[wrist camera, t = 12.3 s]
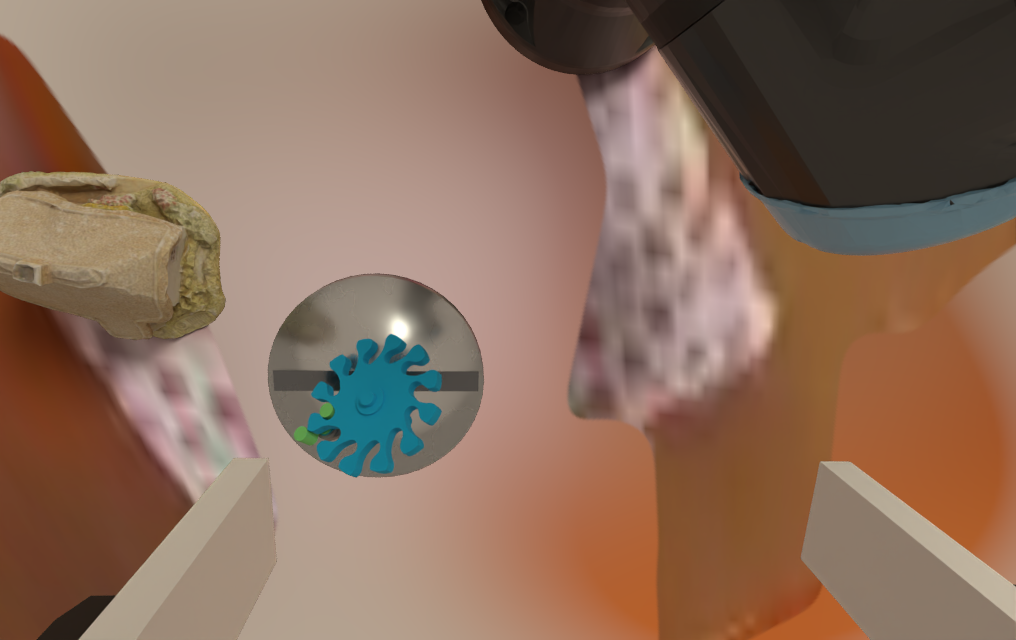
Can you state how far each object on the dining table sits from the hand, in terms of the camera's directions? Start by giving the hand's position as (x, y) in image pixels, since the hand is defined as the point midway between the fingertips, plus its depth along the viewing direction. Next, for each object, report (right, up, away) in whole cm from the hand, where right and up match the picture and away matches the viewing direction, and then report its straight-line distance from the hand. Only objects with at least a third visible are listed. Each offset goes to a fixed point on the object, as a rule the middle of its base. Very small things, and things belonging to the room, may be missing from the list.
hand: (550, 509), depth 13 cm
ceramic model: (-28, +9, +26) cm, 39 cm away
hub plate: (-11, 0, +29) cm, 31 cm away
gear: (-11, -1, +29) cm, 31 cm away
